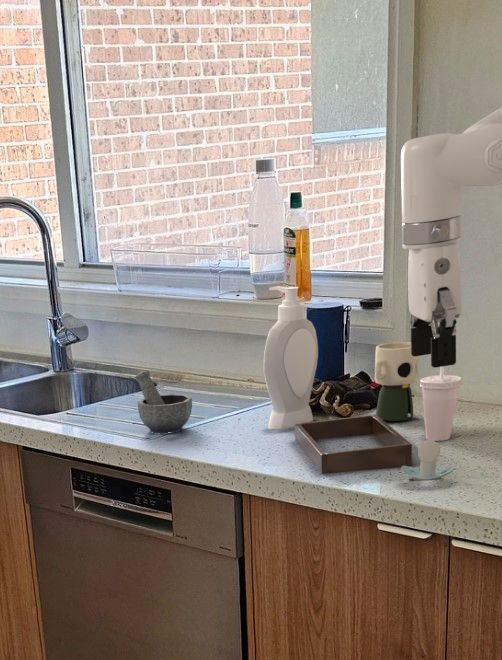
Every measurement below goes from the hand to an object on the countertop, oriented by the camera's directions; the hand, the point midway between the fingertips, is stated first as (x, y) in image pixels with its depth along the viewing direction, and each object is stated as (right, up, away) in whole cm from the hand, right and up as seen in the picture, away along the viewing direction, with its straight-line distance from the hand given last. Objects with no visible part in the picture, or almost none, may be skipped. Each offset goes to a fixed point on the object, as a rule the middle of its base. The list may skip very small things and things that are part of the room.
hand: (433, 360), depth 172 cm
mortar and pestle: (-29, 0, +55) cm, 62 cm away
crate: (-3, -8, +26) cm, 28 cm away
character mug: (+10, +1, +43) cm, 44 cm away
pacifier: (+1, -17, +6) cm, 18 cm away
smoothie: (+12, -6, +28) cm, 31 cm away
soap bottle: (-8, +1, +50) cm, 50 cm away
